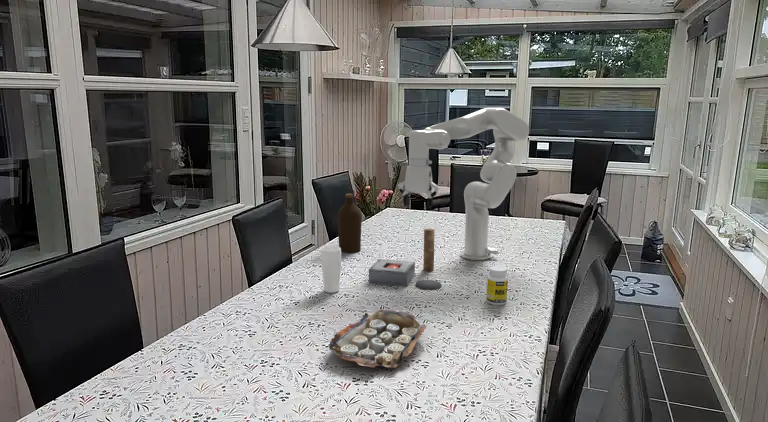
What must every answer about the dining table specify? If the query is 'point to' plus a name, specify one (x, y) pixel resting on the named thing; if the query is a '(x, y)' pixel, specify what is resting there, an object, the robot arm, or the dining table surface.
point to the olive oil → (349, 226)
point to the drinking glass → (331, 268)
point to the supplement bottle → (497, 286)
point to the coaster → (428, 284)
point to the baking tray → (378, 338)
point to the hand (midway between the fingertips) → (417, 206)
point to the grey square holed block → (392, 272)
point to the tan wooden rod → (428, 250)
